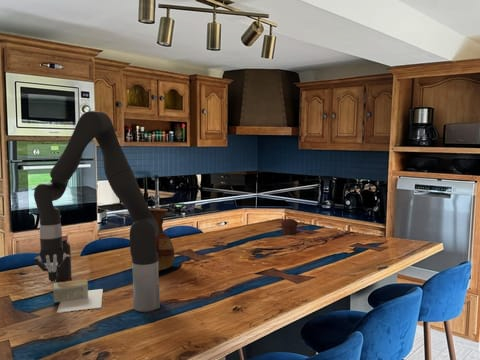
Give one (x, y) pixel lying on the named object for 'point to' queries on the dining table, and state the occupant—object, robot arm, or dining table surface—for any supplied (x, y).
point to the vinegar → (66, 269)
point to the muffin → (289, 226)
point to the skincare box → (70, 290)
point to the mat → (83, 302)
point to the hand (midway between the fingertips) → (53, 281)
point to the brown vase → (163, 242)
